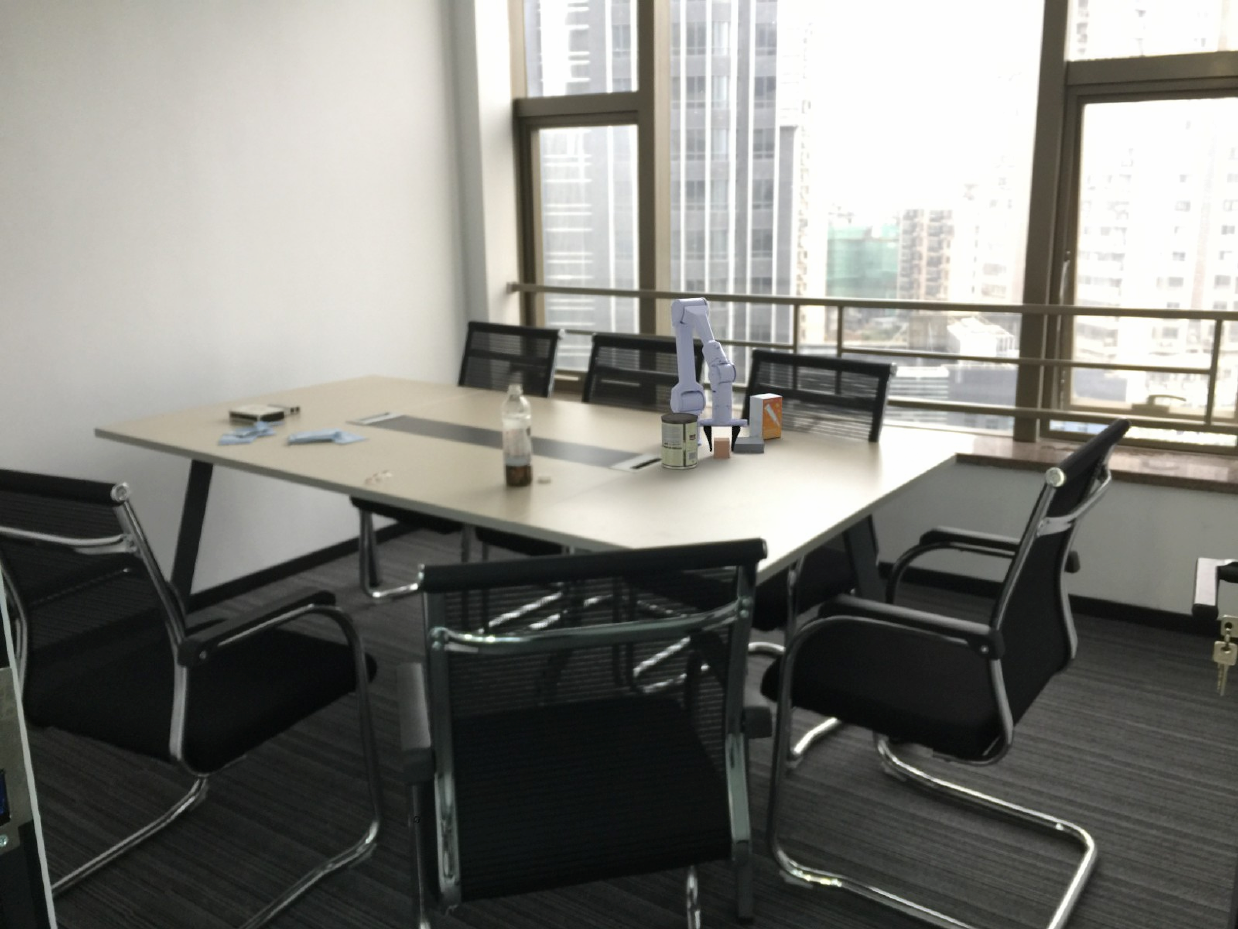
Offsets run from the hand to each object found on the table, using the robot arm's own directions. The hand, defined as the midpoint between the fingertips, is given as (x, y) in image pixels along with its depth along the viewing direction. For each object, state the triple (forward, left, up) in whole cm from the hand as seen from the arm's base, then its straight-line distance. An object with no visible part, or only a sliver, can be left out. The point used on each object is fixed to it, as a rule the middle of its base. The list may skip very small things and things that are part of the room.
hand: (721, 451), depth 311 cm
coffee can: (-12, -11, -2) cm, 16 cm away
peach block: (0, 0, -2) cm, 2 cm away
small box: (+14, +25, -2) cm, 29 cm away
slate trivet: (+8, +9, -2) cm, 12 cm away
